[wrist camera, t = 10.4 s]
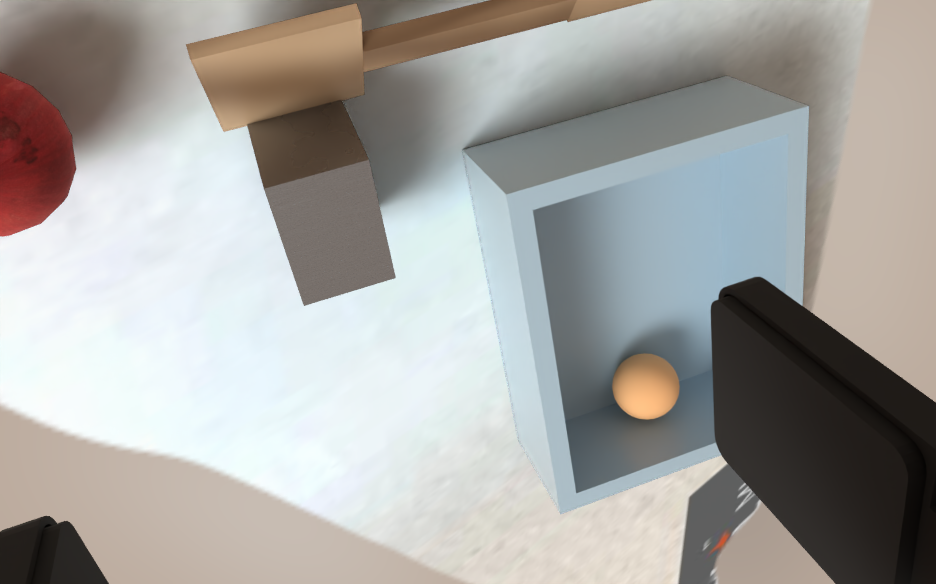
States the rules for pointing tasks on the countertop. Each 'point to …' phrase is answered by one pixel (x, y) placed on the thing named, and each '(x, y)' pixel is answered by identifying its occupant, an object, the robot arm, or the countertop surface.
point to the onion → (31, 157)
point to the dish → (632, 267)
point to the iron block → (323, 200)
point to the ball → (645, 386)
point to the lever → (350, 52)
